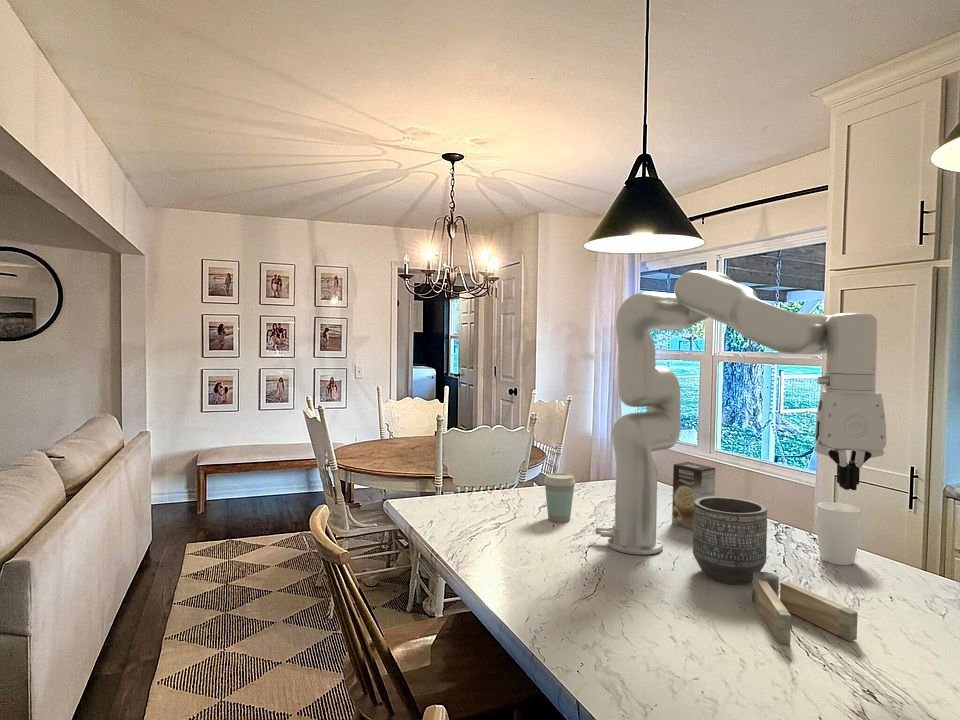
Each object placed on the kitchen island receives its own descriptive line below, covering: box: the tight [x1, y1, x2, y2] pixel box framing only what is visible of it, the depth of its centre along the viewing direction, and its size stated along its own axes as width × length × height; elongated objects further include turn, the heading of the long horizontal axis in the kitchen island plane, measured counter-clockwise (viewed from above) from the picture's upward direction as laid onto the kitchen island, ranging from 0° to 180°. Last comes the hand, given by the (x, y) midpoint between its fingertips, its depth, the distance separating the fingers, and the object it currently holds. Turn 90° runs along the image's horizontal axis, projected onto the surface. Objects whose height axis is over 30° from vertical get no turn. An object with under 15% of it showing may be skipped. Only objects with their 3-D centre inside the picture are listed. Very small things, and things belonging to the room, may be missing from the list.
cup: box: [814, 501, 863, 566], centre depth 141 cm, size 9×9×12 cm
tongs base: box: [751, 571, 792, 646], centre depth 110 cm, size 4×19×5 cm, turn 170°
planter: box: [692, 495, 768, 585], centre depth 131 cm, size 14×14×15 cm
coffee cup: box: [543, 472, 576, 524], centre depth 171 cm, size 8×8×12 cm
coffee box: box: [671, 461, 716, 530], centre depth 167 cm, size 9×6×16 cm
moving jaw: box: [779, 581, 858, 642], centre depth 109 cm, size 2×14×4 cm, turn 21°
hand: (847, 488), depth 111 cm, fingers closed
